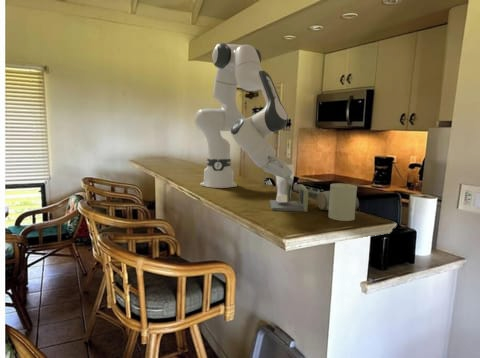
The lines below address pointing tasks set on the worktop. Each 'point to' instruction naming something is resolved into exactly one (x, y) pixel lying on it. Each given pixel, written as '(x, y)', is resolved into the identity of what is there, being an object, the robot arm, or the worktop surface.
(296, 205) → the chute mount
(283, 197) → the beer glass
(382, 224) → the worktop surface
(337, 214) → the can
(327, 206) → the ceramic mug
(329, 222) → the worktop surface
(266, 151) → the robot arm
